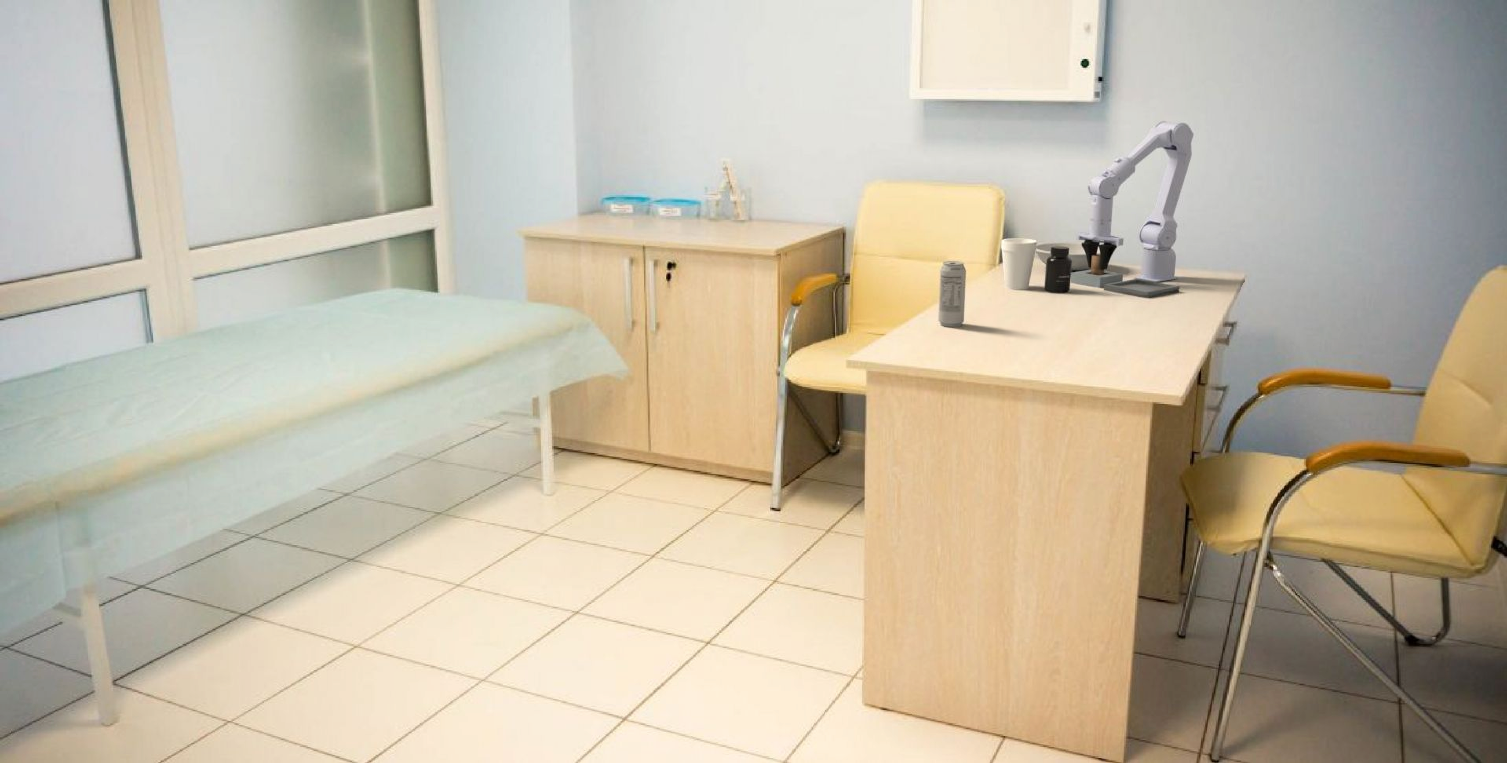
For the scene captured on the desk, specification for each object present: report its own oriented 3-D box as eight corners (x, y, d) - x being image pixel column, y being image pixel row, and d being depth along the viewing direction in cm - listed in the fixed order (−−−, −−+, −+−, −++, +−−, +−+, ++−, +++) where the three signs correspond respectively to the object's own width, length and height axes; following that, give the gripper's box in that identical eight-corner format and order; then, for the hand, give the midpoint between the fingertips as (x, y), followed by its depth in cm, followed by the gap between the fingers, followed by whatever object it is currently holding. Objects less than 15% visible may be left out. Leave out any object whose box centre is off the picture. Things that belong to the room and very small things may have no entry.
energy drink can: (967, 323, 299) (970, 262, 295) (958, 328, 294) (960, 265, 290) (943, 321, 302) (946, 259, 298) (934, 325, 297) (936, 263, 293)
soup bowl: (1013, 266, 378) (1014, 244, 376) (1076, 261, 387) (1078, 239, 386) (1064, 279, 356) (1065, 256, 355) (1129, 273, 366) (1131, 250, 365)
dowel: (1095, 278, 352) (1097, 254, 351) (1106, 280, 350) (1107, 255, 348) (1087, 280, 350) (1089, 255, 349) (1097, 281, 348) (1099, 257, 346)
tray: (1135, 284, 348) (1136, 278, 348) (1178, 292, 337) (1179, 286, 337) (1103, 290, 340) (1104, 284, 340) (1146, 298, 329) (1147, 292, 329)
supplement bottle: (1063, 294, 334) (1066, 250, 331) (1040, 291, 338) (1042, 247, 335) (1074, 290, 340) (1076, 246, 337) (1050, 287, 344) (1053, 244, 341)
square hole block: (1093, 278, 357) (1094, 269, 356) (1122, 283, 349) (1123, 273, 348) (1070, 282, 351) (1071, 272, 350) (1099, 287, 343) (1100, 277, 343)
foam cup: (1032, 284, 348) (1034, 238, 345) (1036, 291, 339) (1038, 243, 336) (997, 284, 349) (1000, 238, 345) (1000, 290, 340) (1003, 243, 337)
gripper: (1070, 218, 349) (1067, 266, 352) (1113, 223, 338) (1109, 273, 341) (1087, 216, 353) (1083, 263, 356) (1129, 221, 342) (1125, 270, 345)
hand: (1097, 268), depth 349 cm, fingers closed on dowel, 4 cm apart
